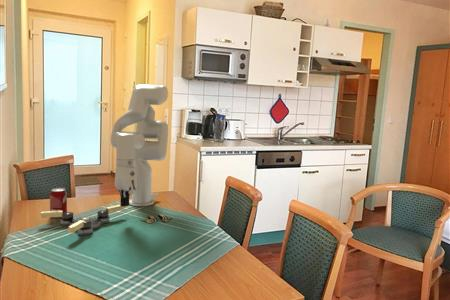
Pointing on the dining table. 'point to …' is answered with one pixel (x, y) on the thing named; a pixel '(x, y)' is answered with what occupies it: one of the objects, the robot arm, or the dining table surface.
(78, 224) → the knob
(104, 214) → the knob
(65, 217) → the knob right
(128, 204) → the robot arm
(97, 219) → the tribrach
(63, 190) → the soda can
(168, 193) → the dining table surface
